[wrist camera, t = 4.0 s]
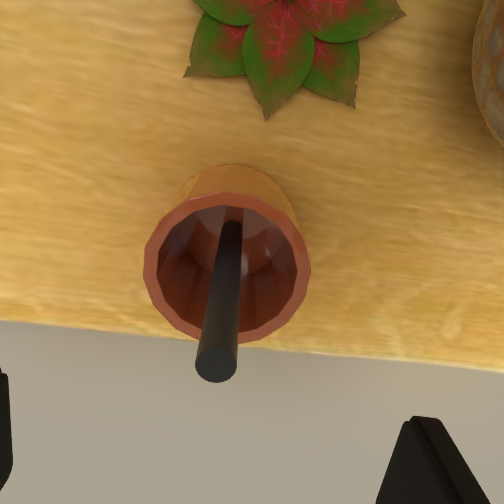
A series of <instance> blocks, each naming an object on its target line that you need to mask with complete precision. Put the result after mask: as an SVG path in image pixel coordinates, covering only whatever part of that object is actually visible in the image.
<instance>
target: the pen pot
mask: <svg viewBox="0 0 504 504" xmlns="http://www.w3.org/2000/svg"><path fill="white" fill-rule="evenodd" d="M227 221H237V222H238V223H240V225H241V226H242V229H243V234H242V257H241V279H240V302H239V324H238V344H241V343H246V342H251V341H255V340H260V339H262V338H264V337H266V336H267V335H269V334H270V333H272V332H274V331H275V330H277V329H278V328H280V327H282V326H283V325H285V324H286V323H287V322H288V321H289V320H290V318H291V317H292V316H293V314H294V313H295V312H296V310H297V309H298V307H299V306H300V305H301V303H302V302H303V301H304V298H305V296H306V291H307V287H308V282H309V278H310V273H311V266H310V261H309V256H308V252H307V247H306V242H305V239H304V236H303V234H302V231H301V229H300V226H299V223H298V221H297V218H296V215H295V213H294V210H293V207H292V205H291V203H290V201H289V199H288V198H287V196H286V195H285V193H284V191H283V190H282V189H281V187H280V186H279V185H278V184H277V183H276V182H275V181H274V180H273V179H272V178H270V177H269V176H268V175H266V174H265V173H263V172H261V171H259V170H257V169H254V168H251V167H248V166H243V165H235V164H229V165H220V166H215V167H212V168H209V169H207V170H205V171H202V172H201V173H199V174H198V175H196V176H195V177H193V178H192V179H191V180H190V181H189V182H188V183H186V184H185V185H184V186H183V187H182V188H181V190H180V191H179V193H178V194H177V196H176V197H175V199H174V200H173V201H172V203H171V204H170V206H169V207H168V209H167V210H166V211H165V213H164V214H163V216H162V217H161V219H160V220H159V222H158V224H157V225H156V227H155V229H154V231H153V233H152V235H151V236H150V238H149V240H148V242H147V244H146V247H145V253H144V268H143V279H144V281H145V284H146V287H147V289H148V292H149V295H150V297H151V300H152V303H153V305H154V306H155V307H156V309H157V310H158V311H159V312H160V313H161V314H162V315H163V316H164V317H165V318H166V319H167V320H168V322H169V323H170V324H171V325H172V326H173V327H175V329H177V330H179V331H181V332H183V333H185V334H187V335H189V336H191V337H193V338H195V339H197V340H199V341H200V336H201V331H202V326H203V321H204V316H205V311H206V306H207V301H208V296H209V291H210V285H211V280H212V275H213V270H214V265H215V260H216V255H217V250H218V245H219V240H220V235H221V230H222V226H223V225H224V223H226V222H227Z"/></svg>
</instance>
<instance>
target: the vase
mask: <svg viewBox="0 0 504 504" xmlns="http://www.w3.org/2000/svg"><path fill="white" fill-rule="evenodd" d="M471 69H472V82H473V89H474V94H475V98H476V101H477V105H478V108H479V110H480V113H481V115H482V117H483V119H484V121H485V123H486V125H487V127H488V129H489V131H490V132H491V134H492V135H493V137H494V138H495V140H496V141H497V142H498V144H499V145H500V146H501V147H502V148H503V149H504V0H485V1H484V4H483V6H482V9H481V12H480V15H479V18H478V22H477V26H476V30H475V34H474V40H473V48H472V63H471Z"/></svg>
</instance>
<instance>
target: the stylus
mask: <svg viewBox="0 0 504 504" xmlns="http://www.w3.org/2000/svg"><path fill="white" fill-rule="evenodd" d="M242 234H243V229H242V226H241V225H240V223H238V222H237V221H227V222H226V223H224V225H223V226H222V230H221V235H220V240H219V245H218V250H217V255H216V260H215V265H214V270H213V275H212V280H211V285H210V291H209V296H208V301H207V306H206V311H205V316H204V321H203V326H202V331H201V336H200V341H199V346H198V351H197V357H196V361H195V368H196V371H197V373H198V374H199V375H200V376H201V377H202V378H203V379H205V380H206V381H209V382H215V383H219V382H224V381H226V380H228V379H230V378H231V377H232V376H233V374H234V373H235V371H236V368H237V347H238V324H239V302H240V279H241V257H242Z"/></svg>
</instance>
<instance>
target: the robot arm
mask: <svg viewBox="0 0 504 504" xmlns="http://www.w3.org/2000/svg"><path fill="white" fill-rule="evenodd" d="M9 402H10V401H9V385H8V376H7V374H5V373H2V372H1V368H0V491H1V489H2V488H3V486H4V484H5V483H6V481H7V479H8V478H9V475H10V473H11V470H12V466H13V453H12V438H11V419H10V403H9ZM376 504H490V502H489V500H488V498H487V497H486V495H485V493H484V492H483V490H482V489H481V487H480V485H479V484H478V482H477V480H476V479H475V477H474V475H473V474H472V472H471V470H470V469H469V467H468V465H467V464H466V462H465V460H464V459H463V457H462V455H461V454H460V452H459V450H458V449H457V447H456V445H455V444H454V442H453V440H452V439H451V437H450V435H449V434H448V432H447V430H446V429H445V427H444V425H443V424H442V422H441V421H440V420H439V419H437V418H430V417H421V416H413V417H412V418H411V419H410V421H405V422H404V423H403V425H402V428H401V431H400V434H399V436H398V439H397V442H396V445H395V448H394V451H393V453H392V456H391V460H390V462H389V465H388V468H387V471H386V474H385V477H384V479H383V482H382V485H381V488H380V491H379V493H378V496H377V499H376Z"/></svg>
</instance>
